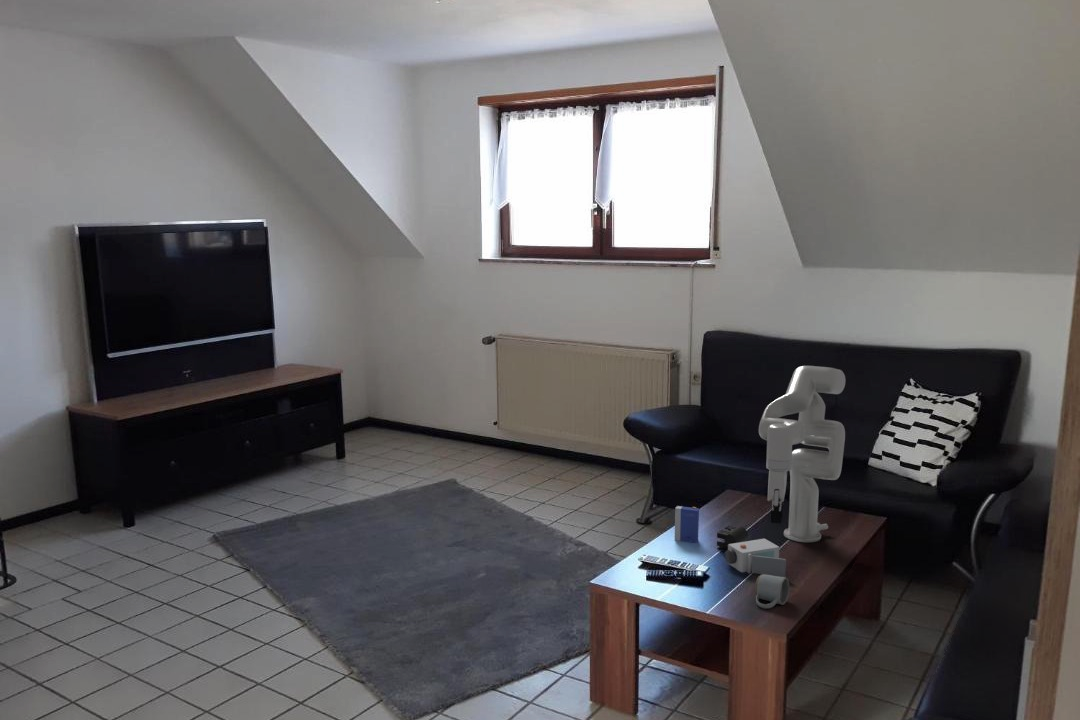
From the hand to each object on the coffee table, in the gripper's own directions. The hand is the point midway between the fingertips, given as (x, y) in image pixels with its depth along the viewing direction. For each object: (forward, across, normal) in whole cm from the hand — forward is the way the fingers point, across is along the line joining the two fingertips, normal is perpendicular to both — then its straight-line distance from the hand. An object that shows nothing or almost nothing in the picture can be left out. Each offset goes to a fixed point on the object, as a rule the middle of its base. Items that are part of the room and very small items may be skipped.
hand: (776, 519), depth 269 cm
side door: (+17, +3, -2) cm, 18 cm away
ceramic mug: (+18, +23, 0) cm, 29 cm away
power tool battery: (+18, -17, -15) cm, 29 cm away
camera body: (+17, -4, -7) cm, 19 cm away
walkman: (+18, -19, -31) cm, 40 cm away
